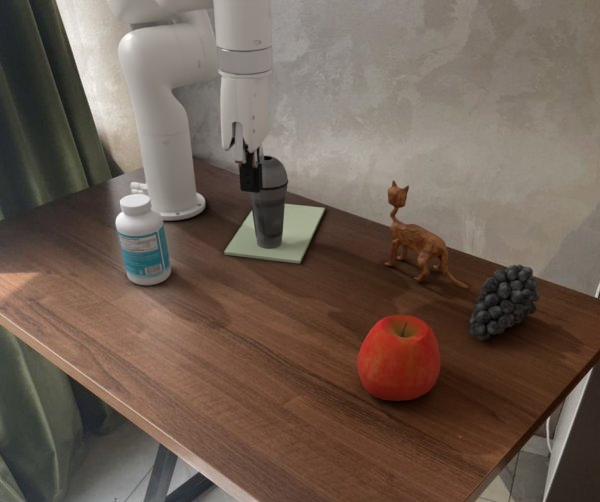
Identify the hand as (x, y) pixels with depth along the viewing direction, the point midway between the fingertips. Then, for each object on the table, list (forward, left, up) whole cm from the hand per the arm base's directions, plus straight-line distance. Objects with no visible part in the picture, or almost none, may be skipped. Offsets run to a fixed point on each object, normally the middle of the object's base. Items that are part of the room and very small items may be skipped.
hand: (251, 189), depth 95 cm
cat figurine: (+28, +5, -14) cm, 32 cm away
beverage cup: (0, +9, -14) cm, 16 cm away
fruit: (+40, -7, -14) cm, 43 cm away
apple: (+27, -25, -14) cm, 40 cm away
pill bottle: (-17, -6, -14) cm, 23 cm away
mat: (0, +15, -14) cm, 20 cm away
